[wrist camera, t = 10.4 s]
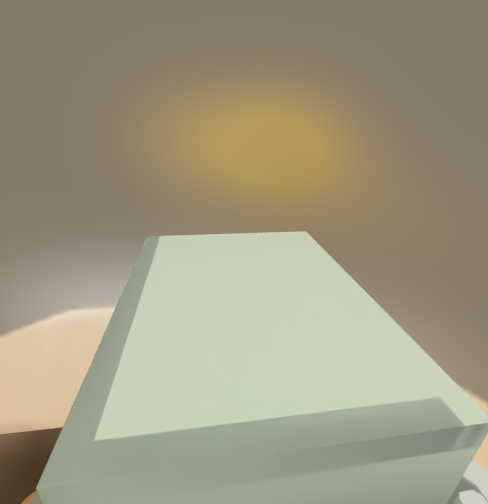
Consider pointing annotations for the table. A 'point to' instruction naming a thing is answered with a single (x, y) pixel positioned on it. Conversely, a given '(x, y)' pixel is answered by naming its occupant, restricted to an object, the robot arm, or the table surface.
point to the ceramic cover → (258, 388)
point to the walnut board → (24, 462)
